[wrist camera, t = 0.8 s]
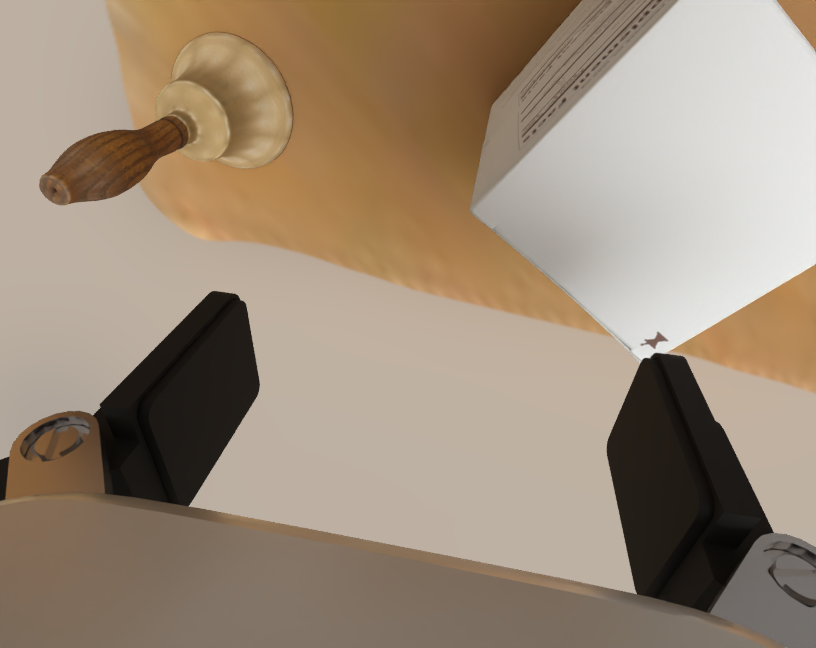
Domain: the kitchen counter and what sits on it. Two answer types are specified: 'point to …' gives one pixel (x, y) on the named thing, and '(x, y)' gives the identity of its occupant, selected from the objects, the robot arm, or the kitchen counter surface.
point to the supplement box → (659, 162)
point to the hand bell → (187, 123)
